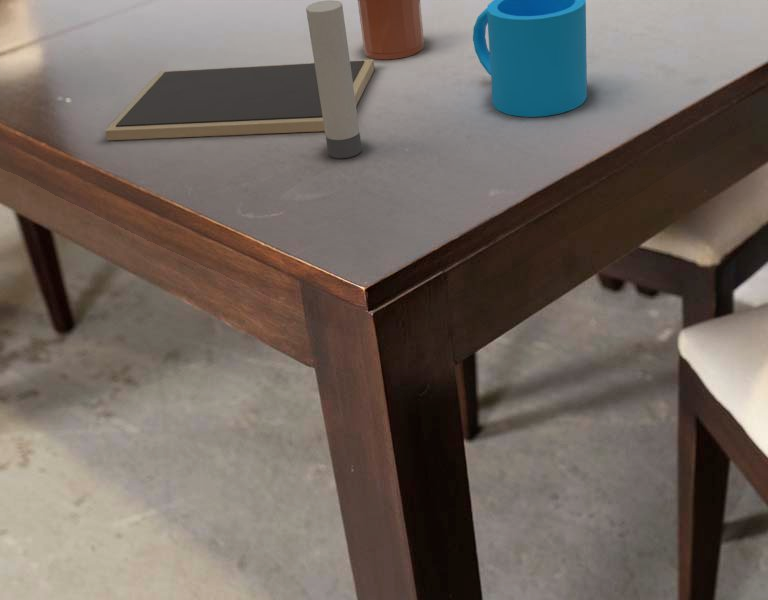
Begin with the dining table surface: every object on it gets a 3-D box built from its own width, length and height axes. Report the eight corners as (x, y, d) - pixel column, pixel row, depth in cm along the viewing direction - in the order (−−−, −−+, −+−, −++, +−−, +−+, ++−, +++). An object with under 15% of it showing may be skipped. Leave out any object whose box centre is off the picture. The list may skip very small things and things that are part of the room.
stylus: (325, 159, 91) (302, 12, 84) (332, 145, 93) (310, 1, 86) (358, 158, 90) (337, 10, 83) (364, 144, 92) (345, -2, 86)
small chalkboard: (107, 140, 100) (104, 128, 99) (162, 80, 112) (159, 69, 111) (344, 130, 95) (342, 117, 95) (375, 69, 107) (373, 57, 107)
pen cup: (359, 61, 110) (348, -22, 105) (370, 41, 114) (360, -39, 110) (419, 57, 108) (411, -26, 104) (427, 37, 113) (420, -43, 109)
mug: (607, 94, 95) (607, -3, 90) (539, 124, 91) (535, 25, 87) (511, 67, 103) (506, -23, 99) (444, 93, 100) (436, 2, 95)
